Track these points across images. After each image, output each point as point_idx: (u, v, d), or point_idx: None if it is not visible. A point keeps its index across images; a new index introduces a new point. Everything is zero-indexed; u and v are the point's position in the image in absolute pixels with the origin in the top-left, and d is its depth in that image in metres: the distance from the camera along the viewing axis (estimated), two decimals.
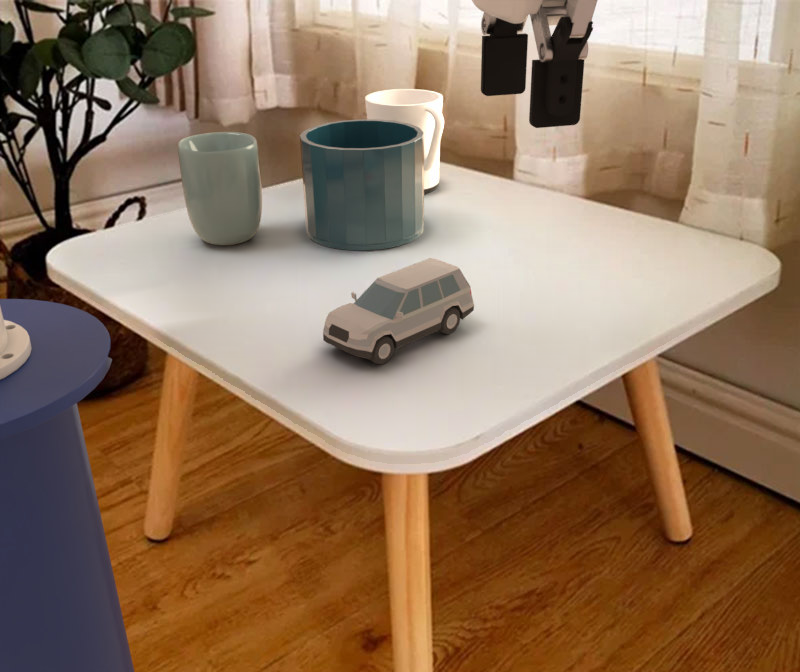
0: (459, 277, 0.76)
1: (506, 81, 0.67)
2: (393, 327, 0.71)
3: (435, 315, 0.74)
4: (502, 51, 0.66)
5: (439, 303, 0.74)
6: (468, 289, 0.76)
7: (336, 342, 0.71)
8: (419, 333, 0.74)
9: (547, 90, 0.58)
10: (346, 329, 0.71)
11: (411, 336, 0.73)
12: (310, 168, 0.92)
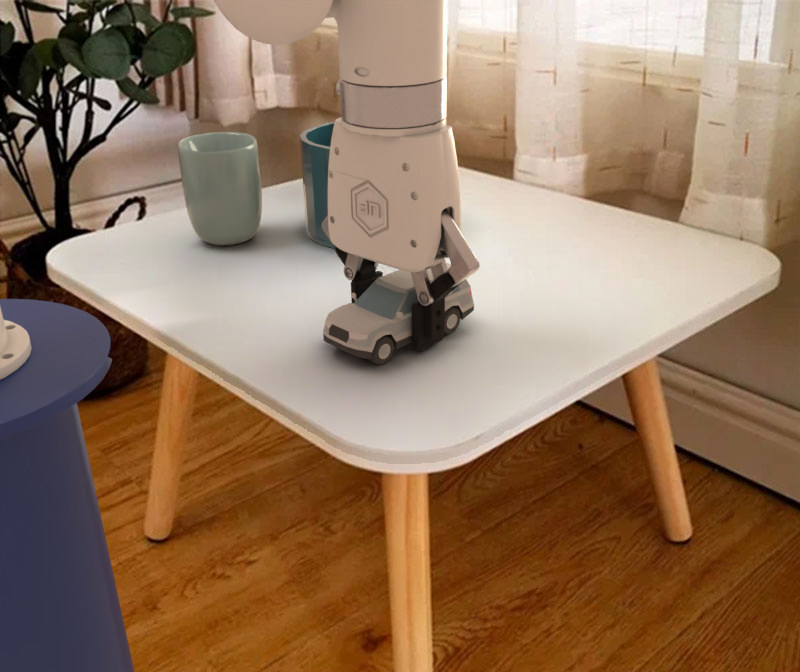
0: None
1: None
2: (393, 328, 0.71)
3: None
4: None
5: None
6: (468, 289, 0.76)
7: (336, 342, 0.71)
8: None
9: (426, 323, 0.72)
10: (346, 330, 0.71)
11: (411, 336, 0.73)
12: (310, 168, 0.92)
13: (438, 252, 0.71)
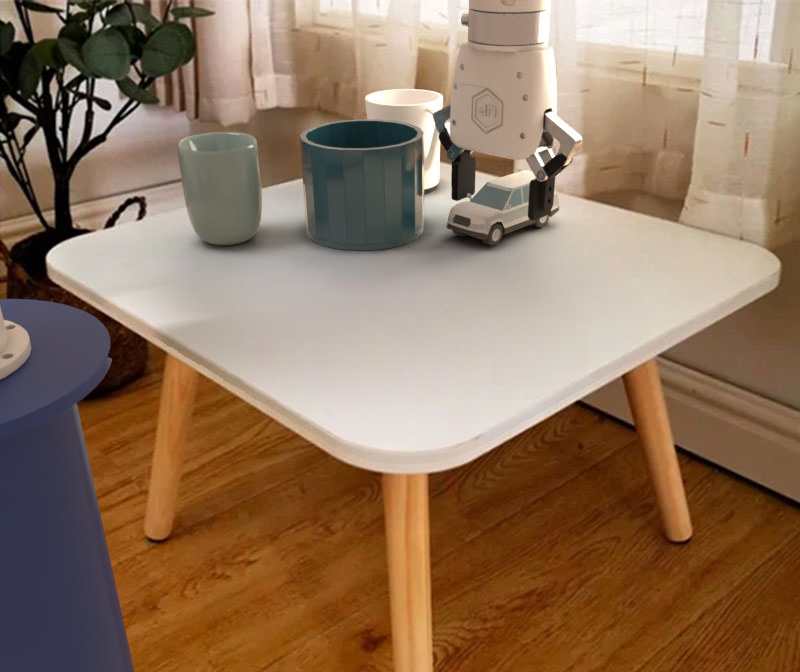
0: None
1: (466, 189, 0.99)
2: (503, 217, 0.93)
3: None
4: (465, 170, 0.97)
5: None
6: (555, 192, 0.98)
7: (459, 228, 0.93)
8: (520, 224, 0.95)
9: (540, 197, 0.92)
10: (468, 217, 0.92)
11: (515, 225, 0.95)
12: (310, 168, 0.92)
13: (543, 142, 0.91)
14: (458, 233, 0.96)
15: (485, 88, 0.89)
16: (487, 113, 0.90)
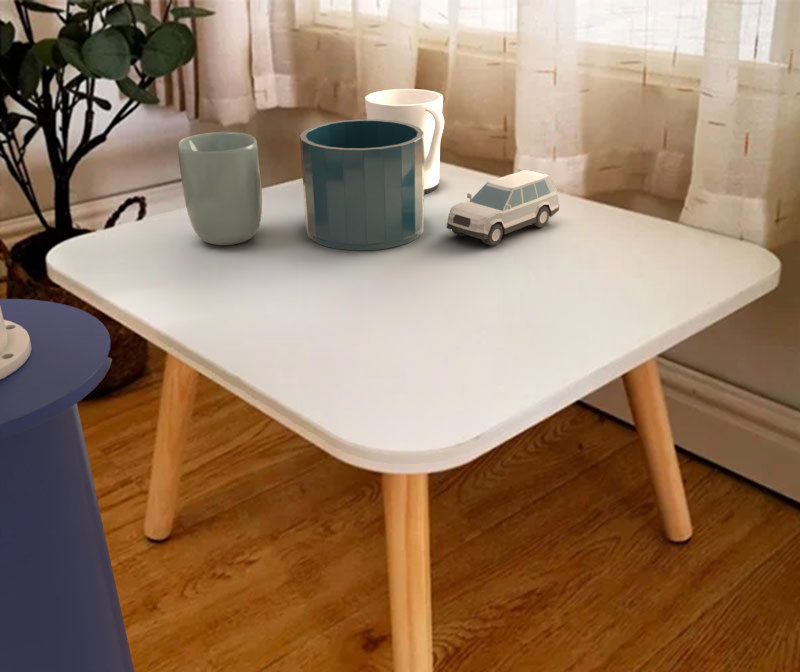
0: (549, 182, 0.98)
1: None
2: (503, 217, 0.93)
3: (532, 211, 0.96)
4: None
5: (535, 201, 0.96)
6: (555, 192, 0.98)
7: (459, 228, 0.93)
8: (520, 223, 0.95)
9: None
10: (468, 217, 0.92)
11: (515, 225, 0.95)
12: (310, 168, 0.92)
13: None
14: (458, 233, 0.96)
15: None
16: None
